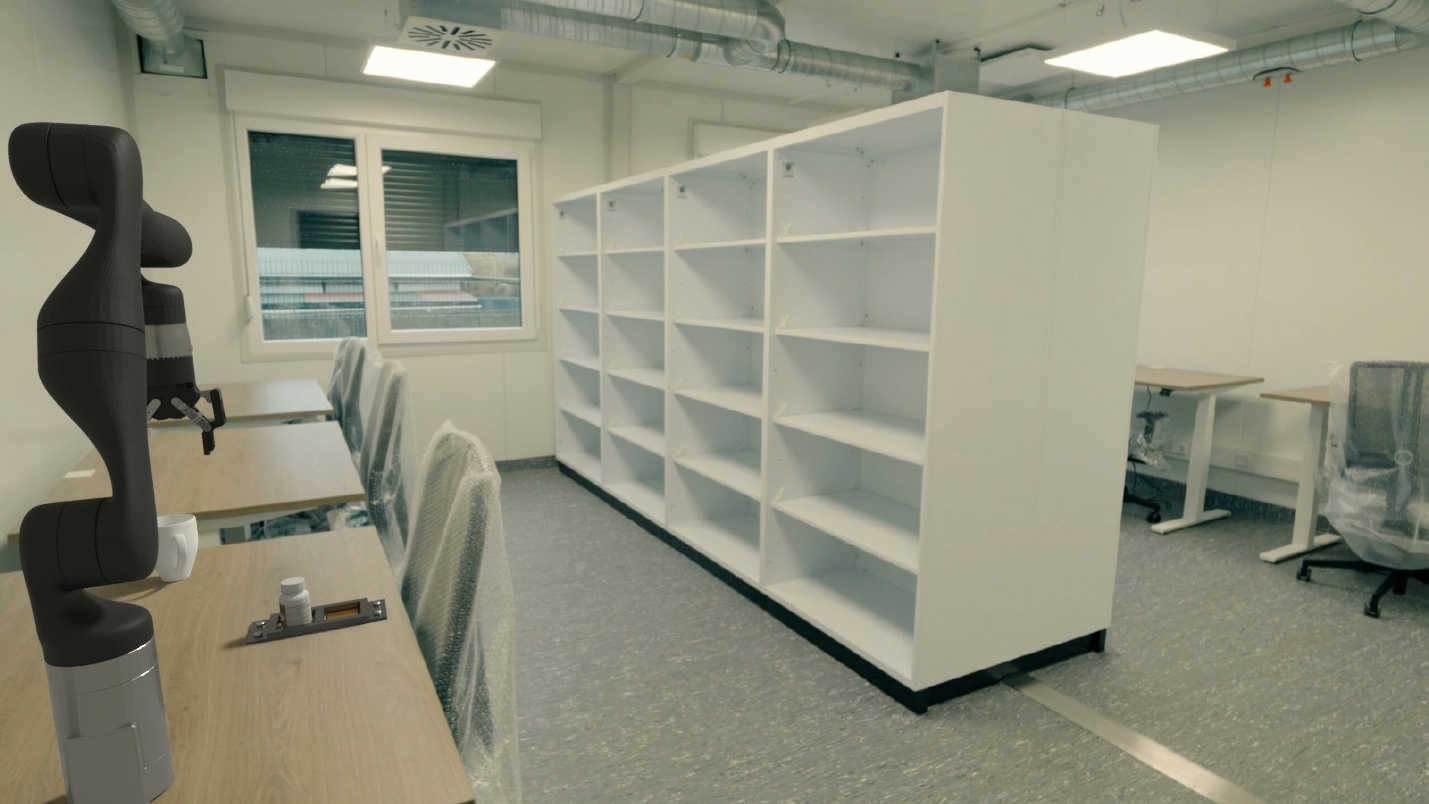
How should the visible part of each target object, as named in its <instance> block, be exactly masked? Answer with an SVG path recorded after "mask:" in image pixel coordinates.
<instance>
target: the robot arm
mask: <svg viewBox="0 0 1429 804" xmlns="http://www.w3.org/2000/svg"><path fill="white" fill-rule="evenodd" d="M7 156H8V162H9V168H10V171H11V174H12V177H13V180H14V182H15V183H16V185H17V187H18V188H19V190H20V191H21V192H22V194H24V196H26V197H27V199H29V200H30V201H32V202H33V203H34V204H36V205H39V206H41V207H43V208H45V209H48V210H51V211H54V212H56V213H58V214H59V215H60V214H61V215H63V216H65V217H68V218H70V219H72V220H74V221H75V222H78V223H81V224H83V225H84V226H87V227H89V228H91V229H92V230H93V231H94V233H93V236H92V238H91V241H90V242H89V244H88V246H87V248H86V249H85V251H84V252H83V254H82V255H81V256H80V258H79V259H78V260H77V261H76V263H75V264H74V265H73V266H72V267H71V268H70V269H69V271H67V273H66V274H65V275H64V276H63V277H62V278H61V279H60V281H59V282H58V283H57V284H56V286H55V288H53V290H52V291H51V293H50V294H49V295H48V297H47V298H46V300H45V301H44V303H43V304H42V305H41V307H40V310H39V311H38V314H37V319H36V352H37V353H36V354H37V357H36V359H37V373H38V377H39V379H40V382H41V384H42V386H43V388H44V389H45V390H46V391H47V394H48V395H49V396H50V397H51V398H52V400H53V401H54V402H55V403H56V404H57V405H58V406H59V407H60V409H61V410H62V411H63V412H64V413H65V414H66V416H68V417H69V418H70V419H71V420H72V421H73V422H74V423H75V425H76V426H77V427H78V428H80V430H81V431H82V432H83V433H84V435H85V436H86V437H87V438H88V440H89V441H90V443H91V444H92V445H93V447H94V448H95V449H96V450H97V452H98V453H99V455H100V457H101V458H102V461H103V463H104V465H105V467H106V469H107V473H108V475H109V479H110V485H111V491H112V492H111V493H112V494H111V496H106V497H105V496H104V497H103V496H102V497H94V498H83V499H75V500H73V499H72V500H64V501H57V502H56V501H55V502H48V503H43V504H38V505H36V506H33V507H32V508H31V509H29V510H28V511H27V512H26V514H25V516H23V518H22V521H21V524H20V527H19V532H18V533H19V534H18V551H19V560H20V564H21V570H22V574H23V578H24V583H25V585H26V590H27V594H28V598H29V601H30V607H31V610H32V614H33V619H34V625H35V630H36V635H37V638H38V641H39V643H40V646H41V648H42V655H43V660H44V664H45V671H46V678H47V683H48V690H49V696H50V697H49V698H50V703H51V710H52V715H53V721H54V727H55V729H54V730H55V735H56V740H57V746H58V747H57V748H58V751H59V759H60V765H61V772H62V777H63V783H64V789H65V794H66V795H65V796H66V802H67V804H150V803H151V802H152V801H153V800H154V799H156V798H157V797H159V796H160V795H161V794H162V793H164V791H165V790H167V788H168V787H169V786H170V785H171V783H172V782H173V779H174V776H175V775H174V768H173V767H174V766H173V759H172V753H171V745H170V738H169V737H170V736H169V730H168V724H167V716H166V709H165V708H166V707H165V703H164V694H163V688H162V687H163V686H162V680H161V673H160V665H159V664H160V663H159V659H158V658H159V656H158V648H157V642H156V635H155V627H154V621H153V616H152V614H151V612H150V610H149V609H147V608H146V607H144V606H142V605H139V604H135V603H131V602H130V603H129V602H122V601H117V600H112V599H107V598H104V597H100V596H98V595H96V594H94V593H92V592H90V591H88V590H87V589H91V588H99V587H105V586H111V585H118V584H119V585H120V584H125V583H132V582H137V581H141V580H144V579H147V578H148V577H150V576H151V575H152V573H153V572H154V570H155V566H156V563H157V558H158V550H159V534H158V522H157V517H158V514H157V504H156V497H155V490H154V481H153V480H154V479H153V474H152V472H153V471H152V464H151V455H150V447H149V445H150V444H149V435H148V434H149V433H148V432H149V431H148V430H149V429H148V424H149V423H150V422H151V421H152V419H153V420H156V421H158V422H159V421H165V420H168V419H169V420H170V419H171V420H172V419H173V420H182V419H183V418H188V419H189V420H190V421H191V422H192V423H195V424H196V425H197V426H198V427H199V428H200V429H201V430H202V431H201V440H202V441H201V442H202V449H203V455H204V456H210V455H211V453H212V452H213V451H214V450H215V448H216V441H215V440H216V439H215V432H214V431H215V429H218V428H220V427H223V426H224V425H225V424H226V423H227V417H226V415H227V414H226V410H225V405H224V401H223V395H222V390H221V388H219V387H214V388H211V389H203V390H200V389H199V388H198V386H197V383H196V381H197V380H196V374H195V373H196V372H195V365H194V357H193V356H194V355H193V345H192V341H191V340H192V339H191V335H190V332H189V328H188V324H187V314H186V307H185V298H184V293H183V291H182V290H181V288H180V287H179V286H176V285H173V284H172V285H171V284H166V283H162V282H156V281H155V282H154V281H152V280H148V279H147V278H146V277H145V276H144V275H143V274H142V269H175V268H179V267H182V266H184V265H185V264H187V263H188V262H189V261H190V259H191V257H192V256H193V255H192V254H193V241H192V239H191V235H190V234H189V232H188V231H187V229H186V228H185V226H183V224H181V222H179V221H178V220H176V219H175V218H173V217H170V216H169V215H166V214H164V213H161V212H158V211H156V210H154V209H153V208H152V206H151V205H150V204H149V203H148V202H147V201H146V200H145V199H144V197H143V195H144V175H143V173H144V172H143V164H142V157H141V153H140V149H139V147H138V144H137V142H136V141H135V138H134V137H133V136H132V135H131V134H130V133H129V131H127V130H125V129H123V128H120V127H116V126H109V125H101V124H100V125H99V124H88V123H87V124H86V123H69V122H67V123H65V122H51V121H50V122H49V121H48V122H47V121H37V122H27V123H22V124H19V125H18V126H16V127H15V128H14V129H13V130H12V131H11V132H10V134H9V137H8V144H7ZM201 398H204V400H205V401H206V402H207V403H208V404H211V407H212V410H213V411H212V412H213V417H214V419H212V420H210V419H209V418H208V417H206V415H205V414H204V412H202V411H201V409H199V408H198V407H196V405H197V404H198V402H199V400H200V399H201Z"/></svg>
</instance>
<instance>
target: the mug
mask: <svg viewBox="0 0 1429 804" xmlns="http://www.w3.org/2000/svg"><path fill="white" fill-rule="evenodd" d="M157 522H158V534H159V550H158V558H157V563H156V566H155V568H154V570H155V571H156V573H157V574H158V575H159V577H160V579H161V580H162V581H163V582H164V583H173V582H180V581H182V580H185V579H187V578H189V577H190V576H191V575H192V574H191V573H192V569H193V568H194V567H193V566H194V563H195V560H196V556H197V553H198V550H199V549H198V548H199V534H198V527H197V526H198V524H197V519H196V516H195V515H194V514H191V513H173V514H166V515H162V516H157Z"/></svg>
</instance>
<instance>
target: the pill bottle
mask: <svg viewBox="0 0 1429 804" xmlns="http://www.w3.org/2000/svg"><path fill="white" fill-rule="evenodd" d="M280 592H281V594H280V595H279V597H278V607H279V613H280V616H281V622H280V623H281V628H285V627H290V626H296V625H302V624H307V623H313V617H312V615H311V607H312V606H311V597H310V596H311V595H310V592H309V590H307V589H306V580H305V578H304V577H302V576H295V577H290V578H286V579H283V580H282V581H281V582H280Z"/></svg>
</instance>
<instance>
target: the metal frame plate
mask: <svg viewBox="0 0 1429 804" xmlns="http://www.w3.org/2000/svg"><path fill="white" fill-rule="evenodd" d="M358 610H360V613H359V611H358ZM311 615H312V618H313V617H315V618H314V622H313V621H312V623H307V624H302V625H296V626H290V627H285V628H282V627H281V628H279V626H280V623H281V616H280V612H276V613H271V614H270V615H269V618H268V619H262V620H255V621H252V622H251V626H250V628H249V632H248V637H247V641H246V645H247V646H248V645H252V644H253V645H254V644H259V643H264V642H269V641H275V640H279V639H286V638H291V637H296V636H301V635H308V634H312V633H318V632H323V631H327V630H328V631H329V630H334V629H339V628H346V627H351V626H356V625H361V624H368V623H373V622H378V621H382V620H383V621H384V620H388V613H387V607H386V599H385V598H382V599H376V600H370V601H369V600H368V597H363V598H356V599H351V600H346V601H345V600H344V601H340V602H339V601H338V602H333V603H328V604H321V605H317V606H311ZM325 615H327V617H326V620H325Z"/></svg>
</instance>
